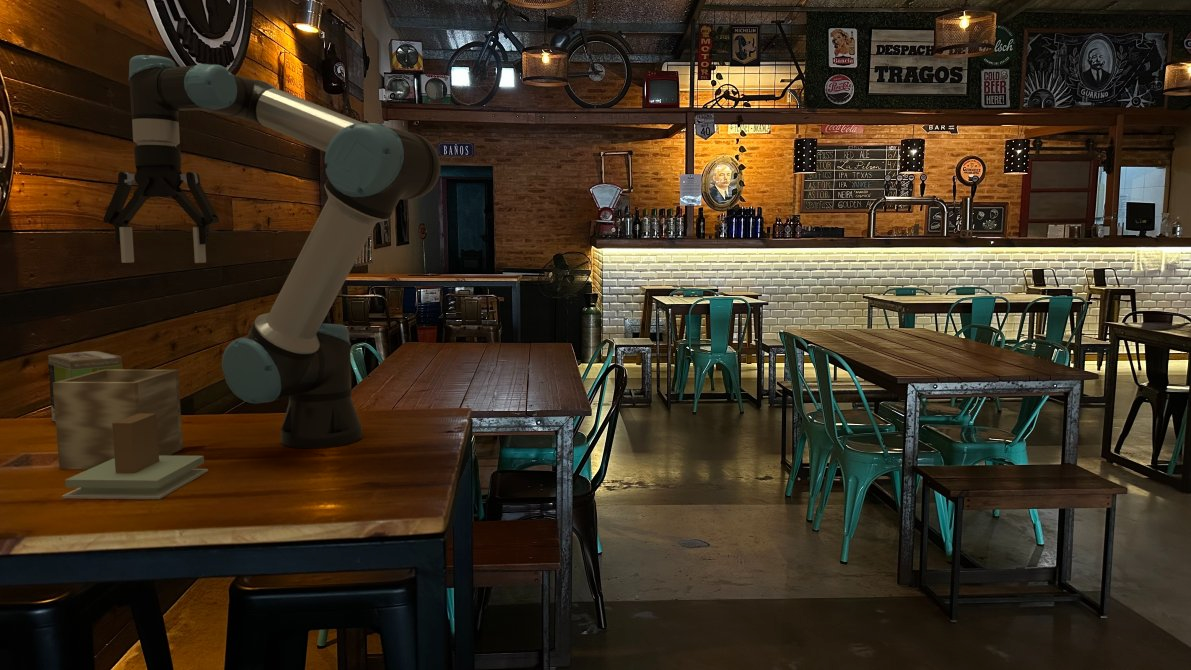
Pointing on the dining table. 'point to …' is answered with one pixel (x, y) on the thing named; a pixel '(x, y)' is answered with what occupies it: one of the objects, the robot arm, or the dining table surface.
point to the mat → (156, 495)
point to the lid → (135, 461)
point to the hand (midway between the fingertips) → (164, 262)
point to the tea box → (78, 367)
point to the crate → (113, 412)
